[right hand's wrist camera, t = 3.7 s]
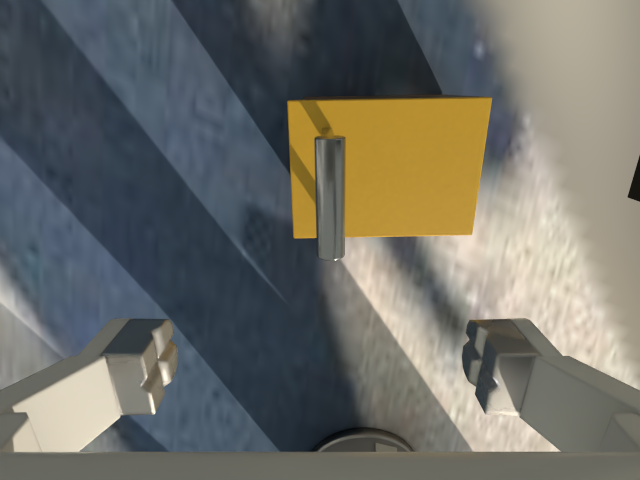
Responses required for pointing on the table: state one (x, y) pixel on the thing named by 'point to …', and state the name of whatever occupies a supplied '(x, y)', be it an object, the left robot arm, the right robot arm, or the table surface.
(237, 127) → the table surface
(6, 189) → the table surface
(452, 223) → the lid
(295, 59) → the table surface
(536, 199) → the table surface
